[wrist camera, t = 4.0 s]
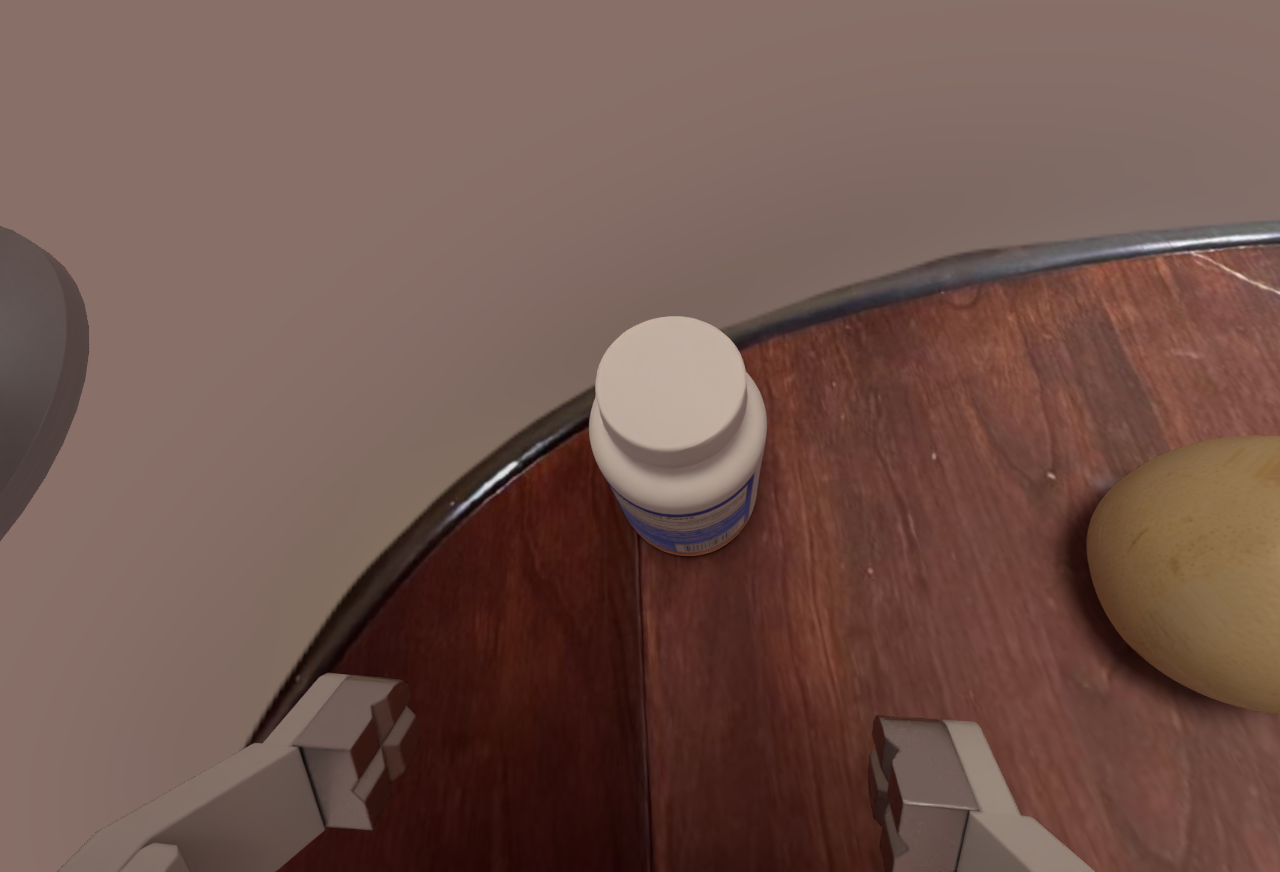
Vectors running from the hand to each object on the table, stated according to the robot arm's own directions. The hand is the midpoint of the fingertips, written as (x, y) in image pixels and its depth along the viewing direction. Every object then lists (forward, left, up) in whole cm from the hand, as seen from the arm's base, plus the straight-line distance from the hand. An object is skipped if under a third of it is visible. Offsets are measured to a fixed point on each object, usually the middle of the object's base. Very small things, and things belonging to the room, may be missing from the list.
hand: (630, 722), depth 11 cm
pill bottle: (0, +8, -12) cm, 15 cm away
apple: (+17, +5, -12) cm, 22 cm away
